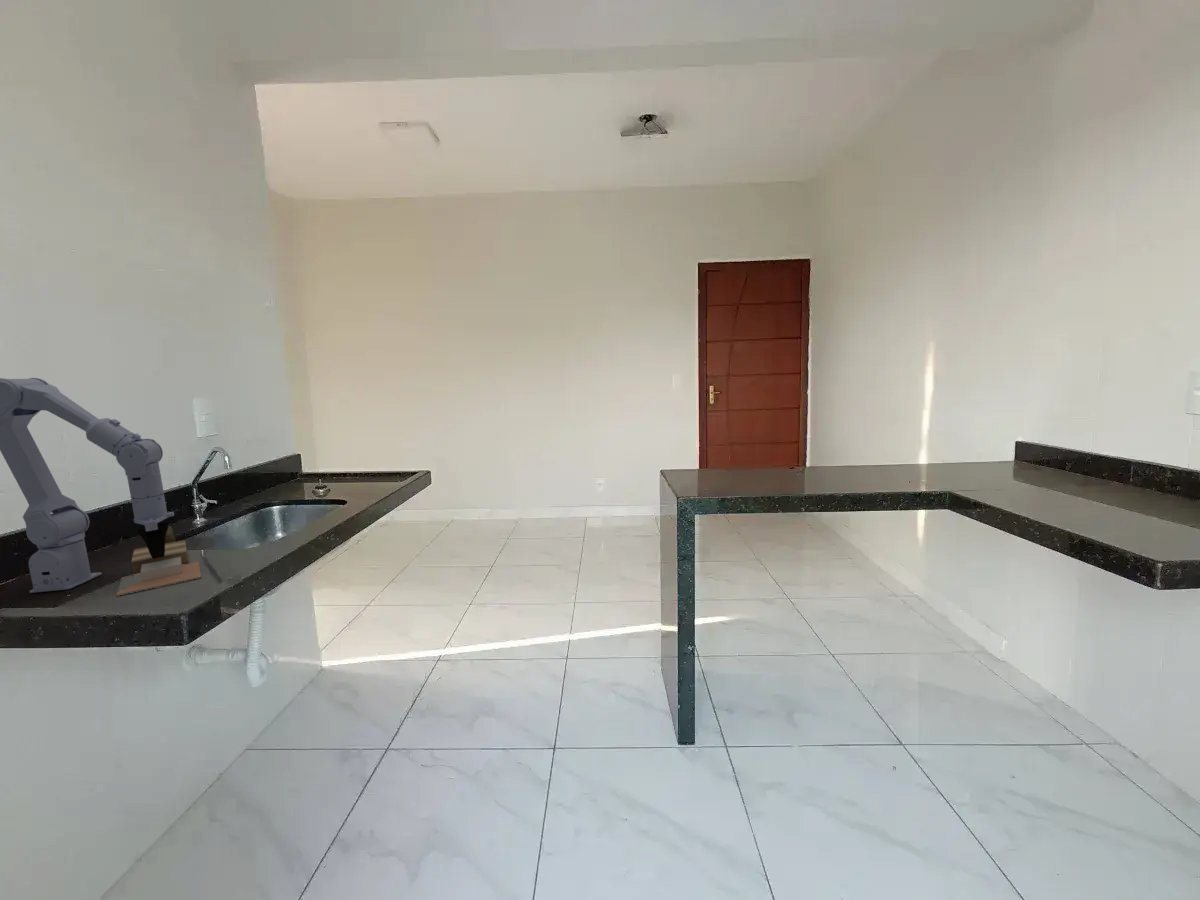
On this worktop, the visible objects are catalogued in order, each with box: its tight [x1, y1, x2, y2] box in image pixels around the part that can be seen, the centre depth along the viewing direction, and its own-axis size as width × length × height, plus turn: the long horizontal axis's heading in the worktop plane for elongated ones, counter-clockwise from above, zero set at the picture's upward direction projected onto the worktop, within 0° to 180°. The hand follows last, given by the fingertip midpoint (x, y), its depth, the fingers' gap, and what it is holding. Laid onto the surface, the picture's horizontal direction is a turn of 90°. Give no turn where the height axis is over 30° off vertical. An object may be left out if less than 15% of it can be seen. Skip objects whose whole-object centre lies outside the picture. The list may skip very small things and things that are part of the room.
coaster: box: [141, 557, 183, 581], centre depth 130 cm, size 7×7×2 cm
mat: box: [116, 561, 202, 596], centre depth 127 cm, size 14×14×1 cm
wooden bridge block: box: [130, 539, 189, 575], centre depth 139 cm, size 14×10×3 cm
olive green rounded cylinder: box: [165, 524, 176, 544], centre depth 152 cm, size 6×6×11 cm
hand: (158, 557), depth 131 cm, fingers closed
